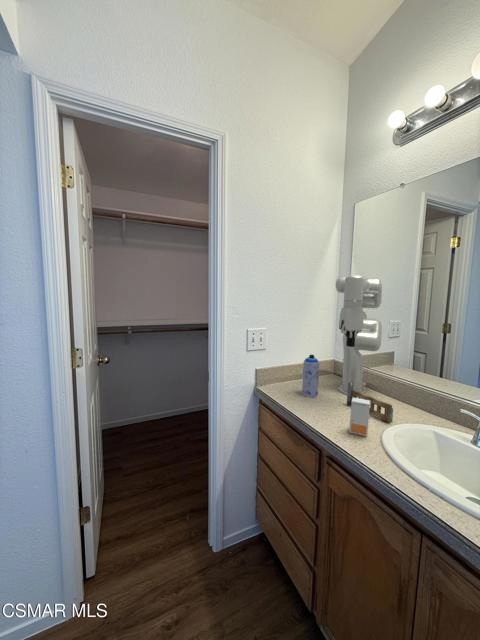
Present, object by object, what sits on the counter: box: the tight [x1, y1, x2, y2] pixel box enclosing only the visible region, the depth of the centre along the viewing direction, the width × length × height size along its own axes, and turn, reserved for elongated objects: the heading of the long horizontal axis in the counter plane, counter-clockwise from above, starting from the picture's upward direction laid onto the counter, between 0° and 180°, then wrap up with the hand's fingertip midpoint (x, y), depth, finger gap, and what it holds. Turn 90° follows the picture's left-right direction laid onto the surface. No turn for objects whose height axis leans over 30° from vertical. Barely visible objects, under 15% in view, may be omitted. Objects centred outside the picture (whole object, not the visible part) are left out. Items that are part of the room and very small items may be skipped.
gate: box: [352, 390, 393, 423], centre depth 114 cm, size 18×1×7 cm, turn 26°
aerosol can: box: [301, 354, 320, 399], centre depth 135 cm, size 8×8×20 cm
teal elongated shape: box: [346, 383, 394, 423], centre depth 116 cm, size 3×20×10 cm, turn 33°
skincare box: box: [348, 397, 371, 437], centre depth 99 cm, size 6×4×12 cm
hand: (350, 346), depth 120 cm, fingers closed
